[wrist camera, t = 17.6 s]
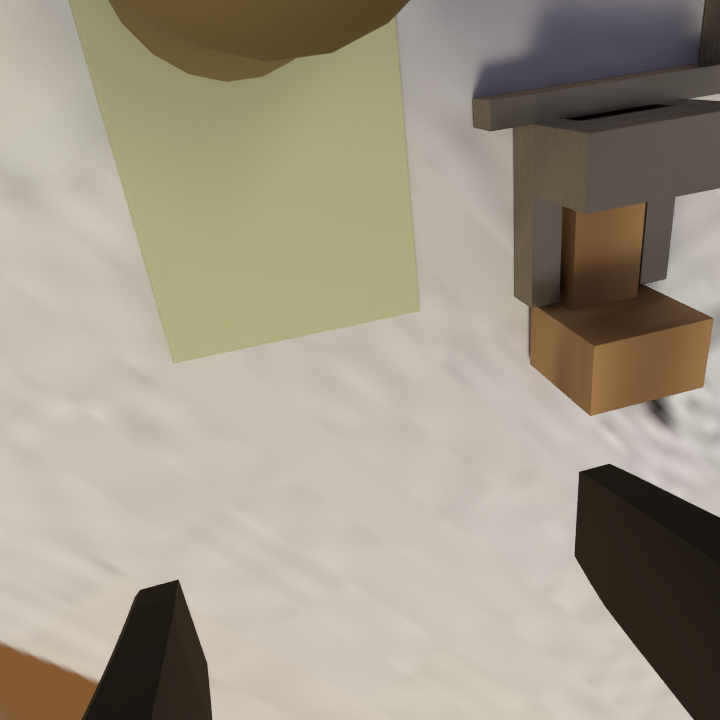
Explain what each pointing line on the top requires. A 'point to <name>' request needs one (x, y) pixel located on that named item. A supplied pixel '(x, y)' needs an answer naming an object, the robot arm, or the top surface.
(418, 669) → the top surface
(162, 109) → the mat
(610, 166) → the socket
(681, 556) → the robot arm
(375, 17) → the brown pepper mill
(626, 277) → the key
